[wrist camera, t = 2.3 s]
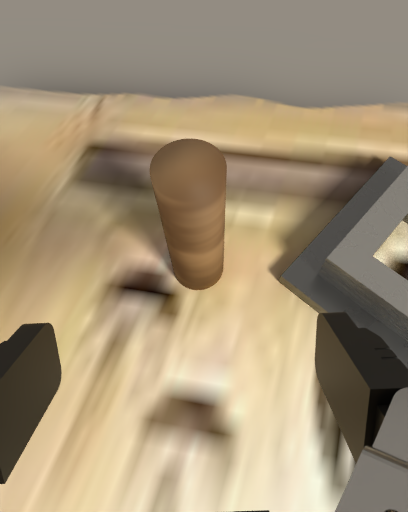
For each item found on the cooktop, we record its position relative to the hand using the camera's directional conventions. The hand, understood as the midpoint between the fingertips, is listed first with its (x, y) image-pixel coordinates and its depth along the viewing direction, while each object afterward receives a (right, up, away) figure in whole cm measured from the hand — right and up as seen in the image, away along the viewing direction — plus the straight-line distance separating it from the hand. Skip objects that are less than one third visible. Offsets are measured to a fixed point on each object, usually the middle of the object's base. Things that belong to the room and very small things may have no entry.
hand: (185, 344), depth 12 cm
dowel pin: (0, +2, +16) cm, 16 cm away
